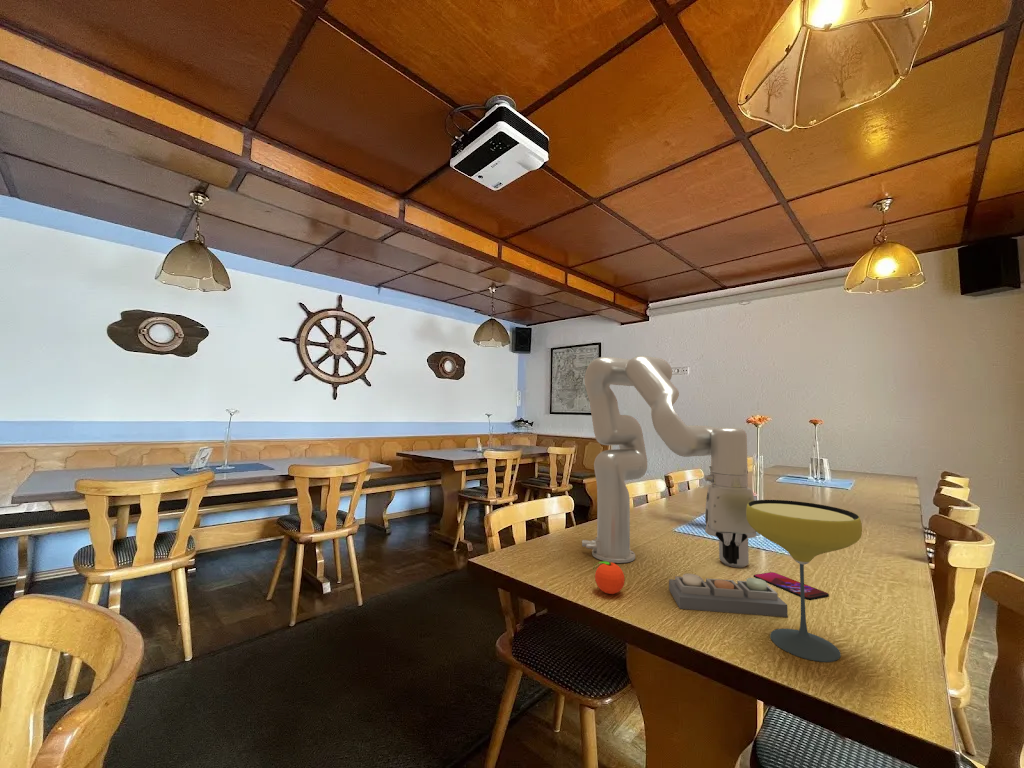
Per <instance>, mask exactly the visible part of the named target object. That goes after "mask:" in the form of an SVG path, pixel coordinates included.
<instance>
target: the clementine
mask: <svg viewBox="0 0 1024 768" xmlns="http://www.w3.org/2000/svg"><path fill="white" fill-rule="evenodd" d="M598 564H599V566H598V567H597V568H596V570H595V573H594V580H595V583H596V585H597V586H596V587H597V588H599V589H600V591H602V592H603V593H605V594H607V595H614V594H617V593H619V592H620V591H621V590H622V589H623V588H624V586H625V580H626V579H625V574H624V571H623V570H622V569H621V567H620V566H619V565H617V563H612V562H606V561H599V562H598ZM596 565H597V563H595V564H594V565H593V569H595V566H596Z"/></svg>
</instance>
